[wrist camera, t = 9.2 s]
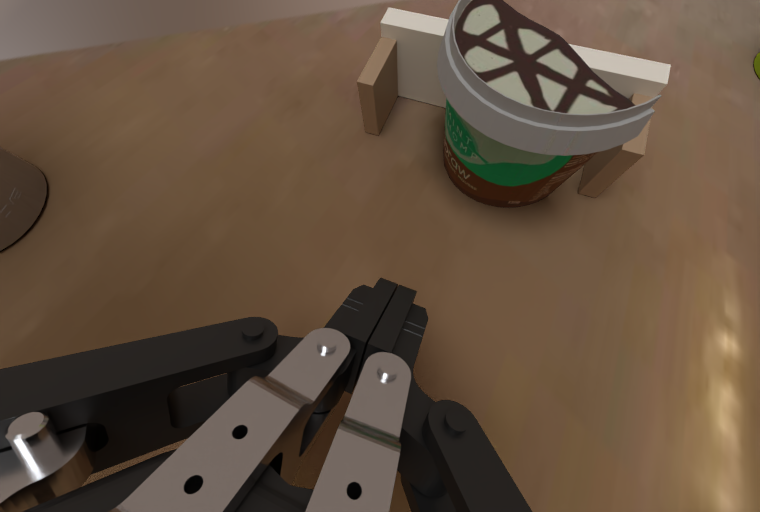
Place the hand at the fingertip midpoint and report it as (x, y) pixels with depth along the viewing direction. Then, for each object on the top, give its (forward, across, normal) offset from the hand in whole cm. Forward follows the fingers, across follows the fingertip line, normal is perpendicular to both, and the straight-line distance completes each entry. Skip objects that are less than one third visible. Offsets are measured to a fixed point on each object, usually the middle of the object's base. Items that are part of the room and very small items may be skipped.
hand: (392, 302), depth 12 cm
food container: (+16, -1, -3) cm, 16 cm away
